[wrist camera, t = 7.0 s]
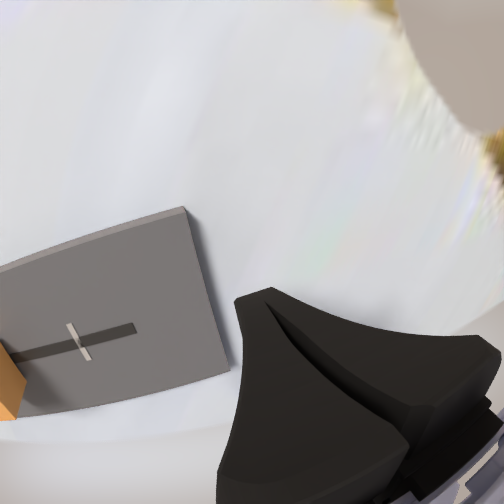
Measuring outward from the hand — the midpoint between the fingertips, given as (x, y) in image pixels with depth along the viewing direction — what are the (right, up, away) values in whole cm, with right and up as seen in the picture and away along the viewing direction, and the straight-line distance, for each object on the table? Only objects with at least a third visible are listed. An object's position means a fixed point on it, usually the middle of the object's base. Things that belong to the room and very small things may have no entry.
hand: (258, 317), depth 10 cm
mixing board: (-14, -4, +7) cm, 17 cm away
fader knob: (-18, -6, +4) cm, 19 cm away
